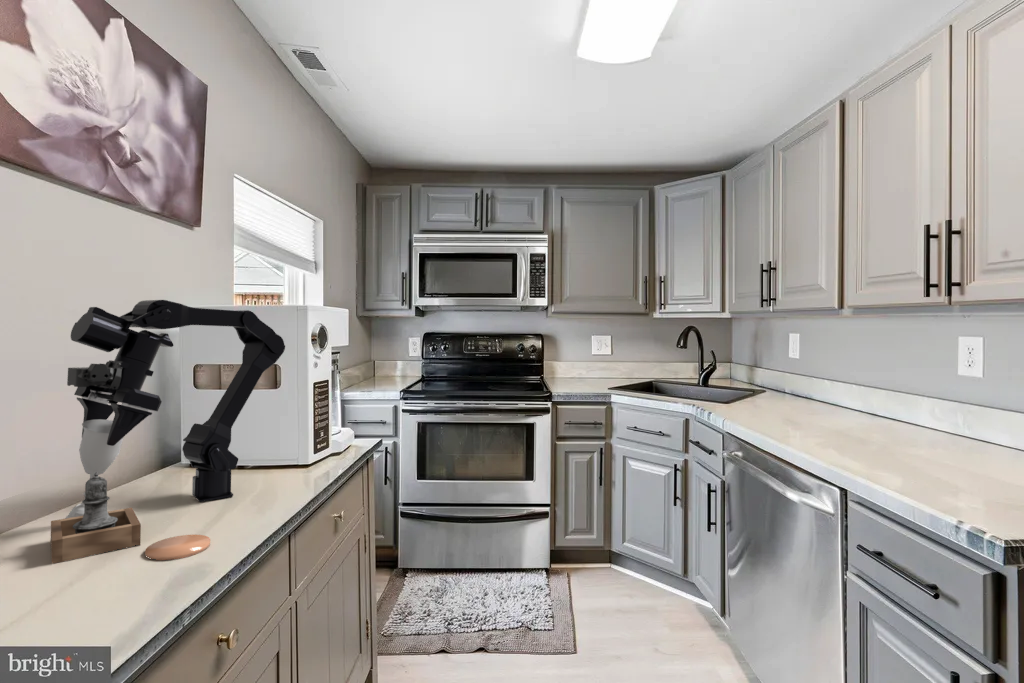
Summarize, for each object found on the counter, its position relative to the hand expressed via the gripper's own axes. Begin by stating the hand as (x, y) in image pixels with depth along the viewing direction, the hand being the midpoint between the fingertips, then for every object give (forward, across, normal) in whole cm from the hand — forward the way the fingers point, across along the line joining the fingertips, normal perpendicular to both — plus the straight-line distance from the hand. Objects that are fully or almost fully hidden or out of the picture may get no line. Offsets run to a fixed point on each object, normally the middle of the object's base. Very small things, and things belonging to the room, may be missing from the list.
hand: (97, 442), depth 93 cm
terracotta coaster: (+13, +22, +8) cm, 27 cm away
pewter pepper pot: (+16, +8, +2) cm, 18 cm away
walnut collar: (+16, +8, +2) cm, 18 cm away
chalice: (+14, -5, +6) cm, 16 cm away
